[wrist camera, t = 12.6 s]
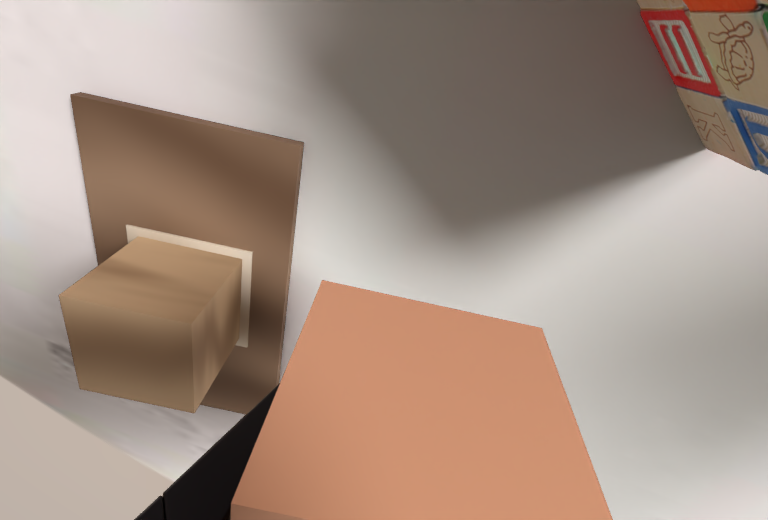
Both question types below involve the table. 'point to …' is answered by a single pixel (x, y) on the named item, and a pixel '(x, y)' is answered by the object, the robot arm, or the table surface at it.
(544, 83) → the table surface
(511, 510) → the terracotta cube
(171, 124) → the brown flat panel
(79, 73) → the table surface
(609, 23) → the table surface
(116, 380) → the oak cube
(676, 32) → the stack of blocks
